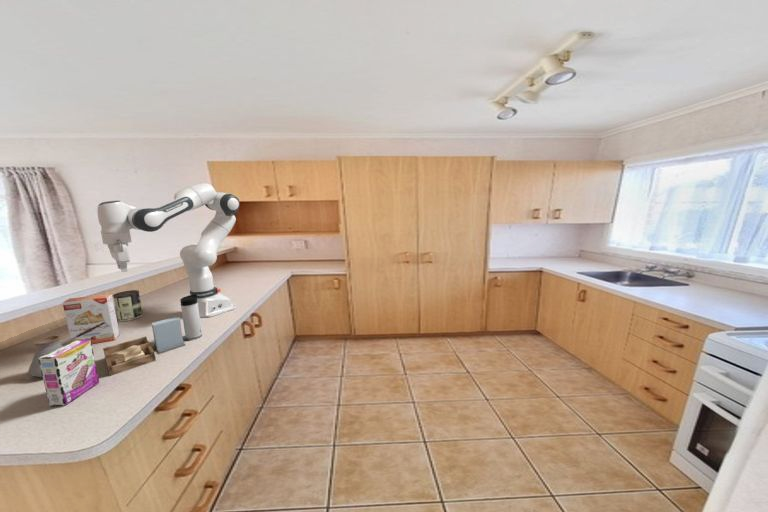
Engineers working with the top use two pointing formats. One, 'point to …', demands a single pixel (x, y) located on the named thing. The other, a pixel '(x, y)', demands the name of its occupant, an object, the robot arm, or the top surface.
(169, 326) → the board
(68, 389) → the candy bar box
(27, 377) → the top surface
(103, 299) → the cracker box
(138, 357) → the block
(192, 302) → the travel mug
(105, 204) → the robot arm
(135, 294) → the coffee can
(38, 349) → the coffee pot
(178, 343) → the mat
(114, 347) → the rack
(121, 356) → the upper offcut
